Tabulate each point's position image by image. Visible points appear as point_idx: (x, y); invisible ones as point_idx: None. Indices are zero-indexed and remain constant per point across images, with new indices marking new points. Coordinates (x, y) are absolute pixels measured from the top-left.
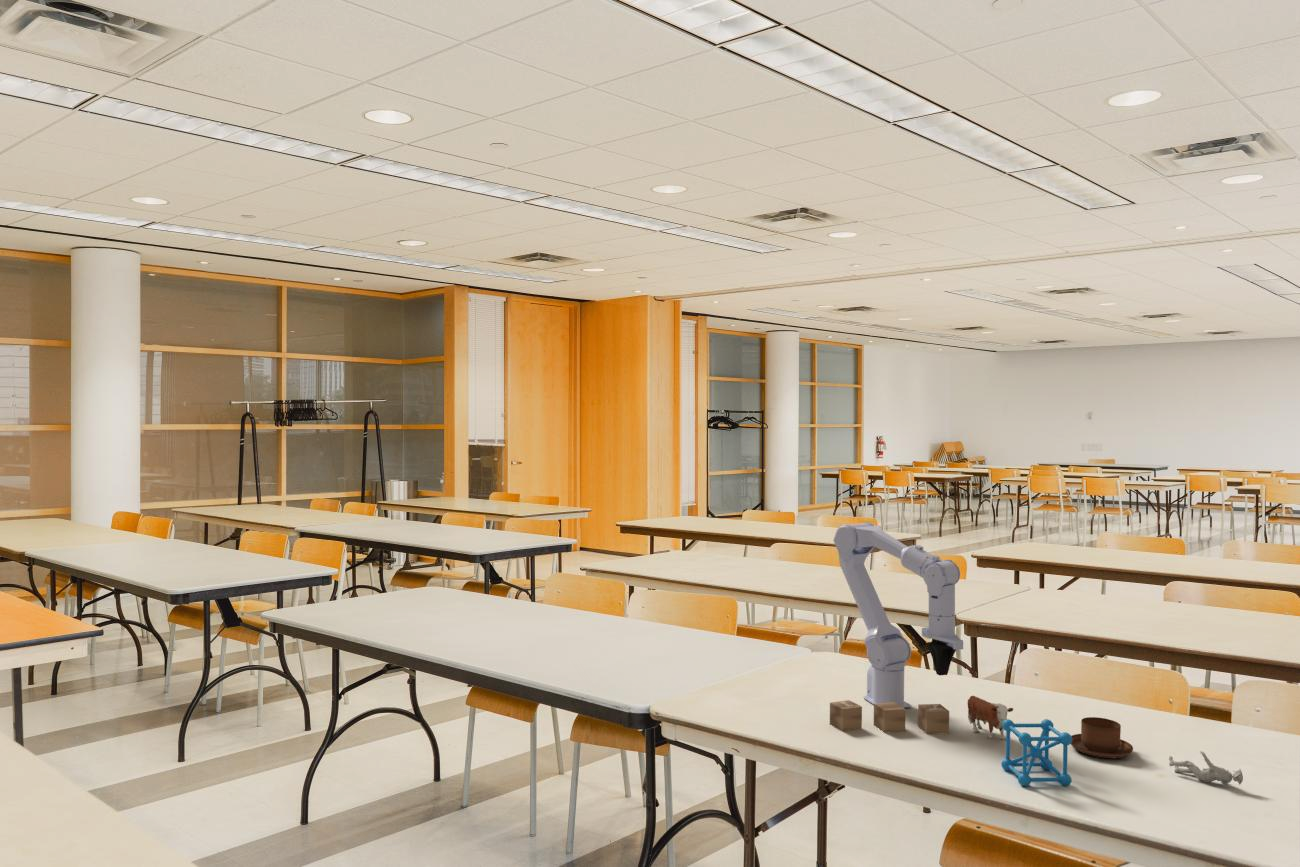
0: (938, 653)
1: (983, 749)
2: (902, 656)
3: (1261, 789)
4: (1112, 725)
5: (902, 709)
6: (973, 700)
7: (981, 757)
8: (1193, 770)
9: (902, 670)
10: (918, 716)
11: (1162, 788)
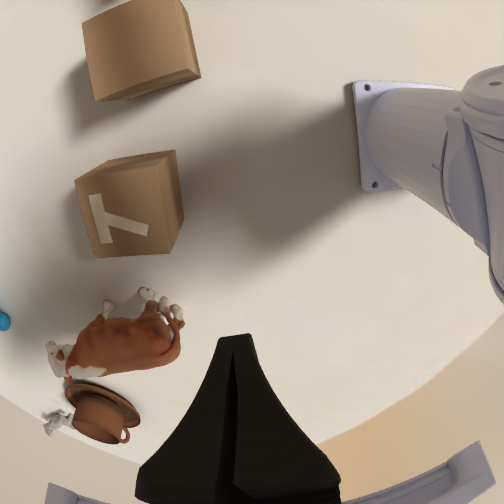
0: (160, 448)
1: (43, 265)
2: (497, 246)
3: (64, 428)
4: (113, 438)
5: (92, 89)
6: (138, 348)
7: (7, 245)
8: (54, 419)
9: (445, 209)
10: (164, 156)
11: (23, 383)
